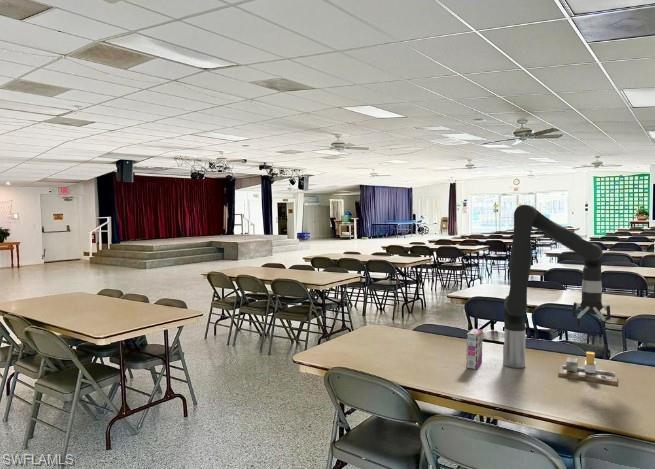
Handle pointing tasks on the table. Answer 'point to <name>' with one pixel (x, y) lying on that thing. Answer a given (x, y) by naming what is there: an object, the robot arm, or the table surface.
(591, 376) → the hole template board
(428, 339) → the table surface
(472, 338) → the candy bar box
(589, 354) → the block
